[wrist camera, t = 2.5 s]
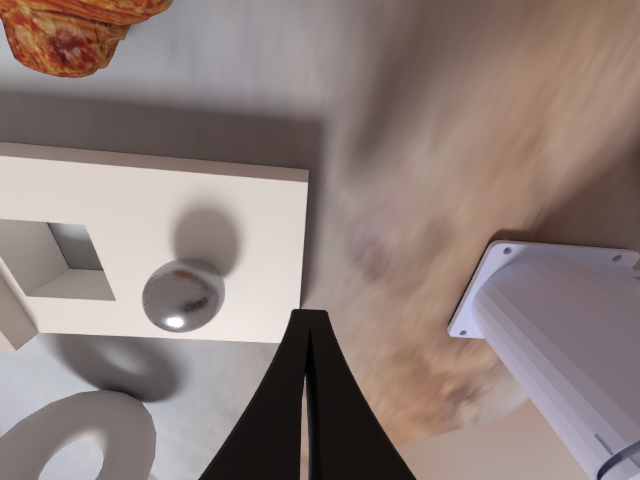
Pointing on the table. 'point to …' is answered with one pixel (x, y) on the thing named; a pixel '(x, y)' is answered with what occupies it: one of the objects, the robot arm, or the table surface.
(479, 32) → the table surface
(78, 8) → the croissant
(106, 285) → the board
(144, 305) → the ball
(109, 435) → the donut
